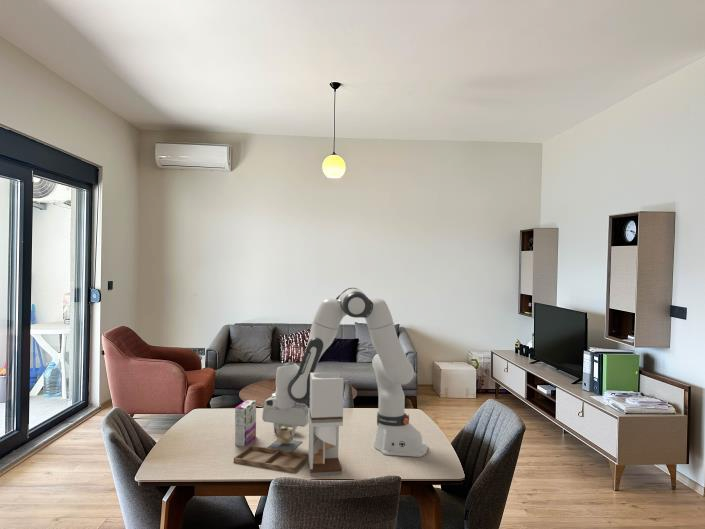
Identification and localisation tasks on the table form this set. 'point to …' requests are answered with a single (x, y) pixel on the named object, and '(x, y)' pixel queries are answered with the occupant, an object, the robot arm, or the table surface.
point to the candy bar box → (245, 422)
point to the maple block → (284, 435)
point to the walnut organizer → (271, 458)
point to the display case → (325, 423)
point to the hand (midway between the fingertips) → (285, 434)
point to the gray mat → (285, 445)
